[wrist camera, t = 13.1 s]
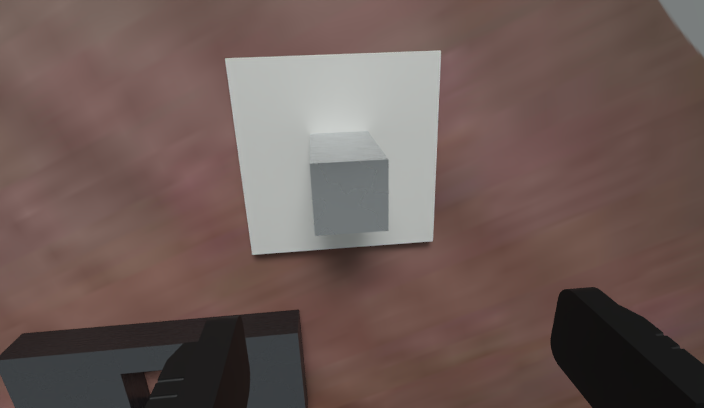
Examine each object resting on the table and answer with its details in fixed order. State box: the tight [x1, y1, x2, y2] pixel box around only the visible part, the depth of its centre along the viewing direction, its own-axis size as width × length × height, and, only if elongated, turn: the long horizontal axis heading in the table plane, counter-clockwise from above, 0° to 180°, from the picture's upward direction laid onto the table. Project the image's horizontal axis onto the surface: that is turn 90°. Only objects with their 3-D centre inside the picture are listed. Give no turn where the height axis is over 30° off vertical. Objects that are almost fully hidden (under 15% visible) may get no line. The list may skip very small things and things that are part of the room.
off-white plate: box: [225, 51, 441, 255], centre depth 29 cm, size 14×14×1 cm
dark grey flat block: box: [0, 310, 308, 408], centre depth 33 cm, size 22×10×3 cm, turn 92°
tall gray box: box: [310, 131, 389, 236], centre depth 24 cm, size 4×4×8 cm
